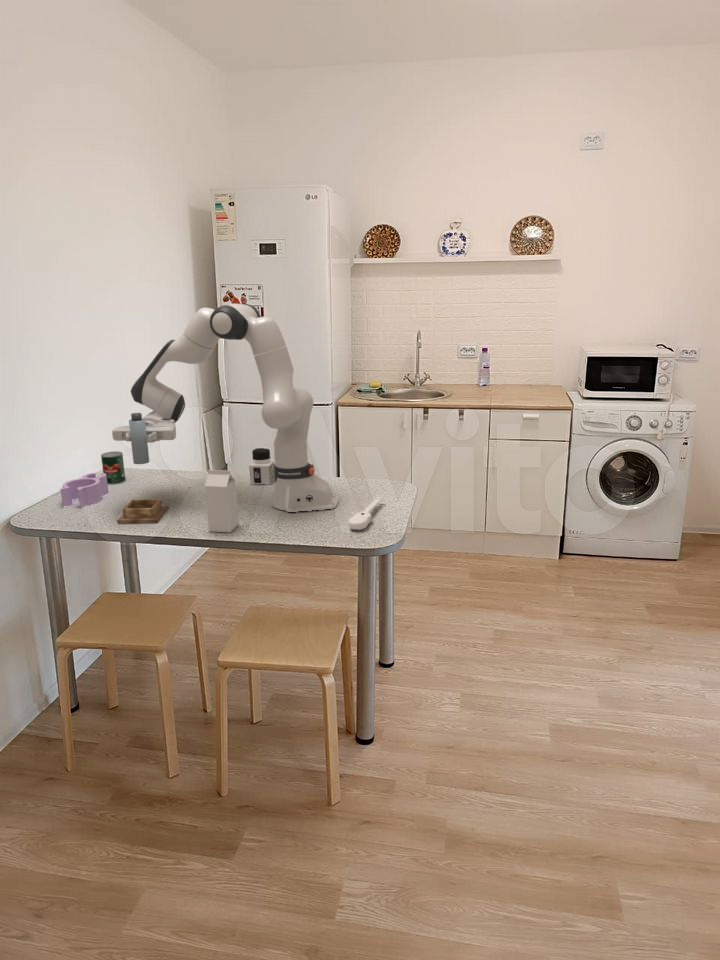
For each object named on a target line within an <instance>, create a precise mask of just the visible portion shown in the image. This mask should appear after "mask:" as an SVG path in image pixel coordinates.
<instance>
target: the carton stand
mask: <svg viewBox="0 0 720 960" xmlns="http://www.w3.org/2000/svg"><path fill="white" fill-rule="evenodd" d="M169 509H170V507H169V505H163V501H162V498H155V499H154V498H153V499H152V498H151V499H150V498H149V499H131V500H130V501H129V502H128V503H127V504H126V505H125V506H124V507H123V508H122V515H121V516H120V517H119V518H118V519H117V520H116V524H117V523H118V524H117V525H132V524H133V525H136V524H139V525H141V524H158V523H159V522H160V521H161V520H162V518H163V517H164V516H165V514H166V513H167V512H168V510H169ZM166 511H167V512H166ZM163 515H164V516H163Z"/></svg>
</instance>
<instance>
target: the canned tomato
mask: <svg viewBox="0 0 720 960" xmlns="http://www.w3.org/2000/svg"><path fill="white" fill-rule="evenodd" d="M123 454H124V453H123V452H122V451H108V452H103V453H101V454H100V457H101V458H100V459H101V465H102V473H105V474H106V477H107V484H108V485H118V484H123V483H124V482H126V473H125V472H126V471H125V463H124V455H123Z"/></svg>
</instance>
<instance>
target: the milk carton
mask: <svg viewBox="0 0 720 960" xmlns="http://www.w3.org/2000/svg"><path fill="white" fill-rule="evenodd" d="M204 490H205V491H204V492H205V501H206V502H205V504H206V513H207V514H206V515H207V525H208V532H214V533H215V532H216V533H231V532H232V531H233V530H235V528H237V526H239V516H238V515H239V514H238V502H237V490H236V479H235V478H234V477H233V476H232V473H231V470H222V469H221V470H218V469H217V470H216V469H208V470H207V477H206V480H205V484H204Z"/></svg>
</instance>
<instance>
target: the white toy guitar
mask: <svg viewBox="0 0 720 960" xmlns="http://www.w3.org/2000/svg"><path fill="white" fill-rule="evenodd" d="M383 500H384V497H374V498H373V500H372V501H371V502H370V503H369V505H368V506H366V508H365V509H364V510H362V511H358V512H356V513H355V514H354V515H353V516H351V517H350V518H349V519H348V527H349V529H350V530H356V531H362V530H363V529H365V528H367V527H368V526H369V524H371V523H372V522H371V521H372V513H371V511H372V510H373V509H374V508H375V507H376V506H377V505H378V504H379V503H380V502H383Z"/></svg>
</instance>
